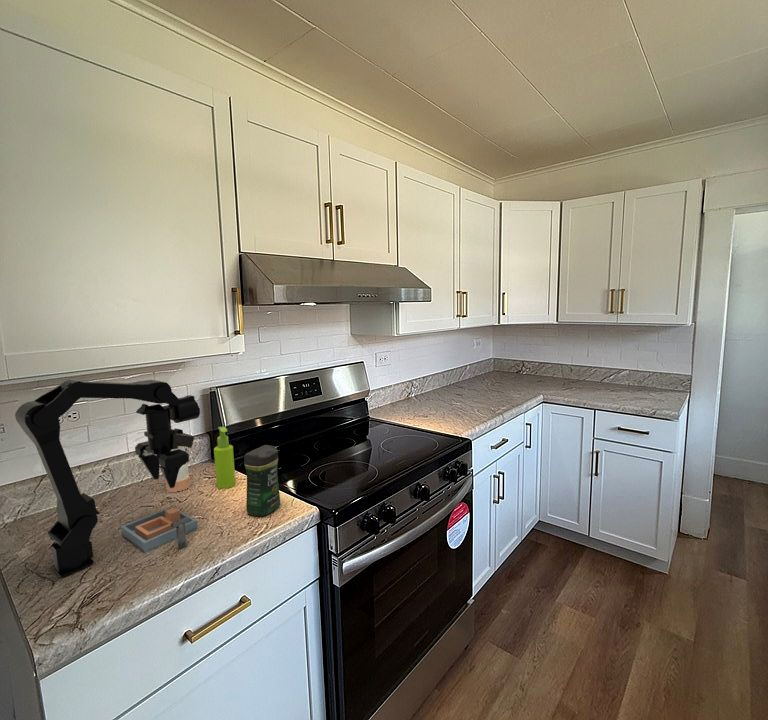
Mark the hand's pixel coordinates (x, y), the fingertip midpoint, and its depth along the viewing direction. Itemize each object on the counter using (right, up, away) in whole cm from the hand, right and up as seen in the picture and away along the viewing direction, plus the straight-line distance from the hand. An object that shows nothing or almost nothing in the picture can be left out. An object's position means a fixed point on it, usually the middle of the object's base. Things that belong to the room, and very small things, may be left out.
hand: (164, 483), depth 114 cm
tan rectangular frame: (0, -12, -2) cm, 12 cm away
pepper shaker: (-9, -9, +25) cm, 28 cm away
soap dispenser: (+7, -9, +26) cm, 28 cm away
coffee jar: (+24, -11, +9) cm, 28 cm away
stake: (+9, -13, -9) cm, 18 cm away
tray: (0, -12, -2) cm, 12 cm away
